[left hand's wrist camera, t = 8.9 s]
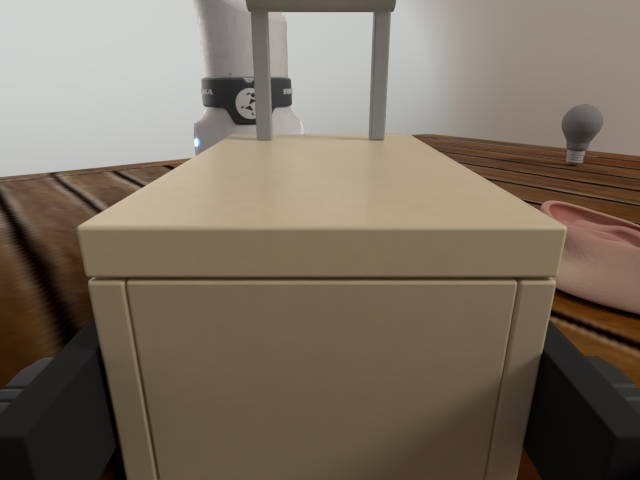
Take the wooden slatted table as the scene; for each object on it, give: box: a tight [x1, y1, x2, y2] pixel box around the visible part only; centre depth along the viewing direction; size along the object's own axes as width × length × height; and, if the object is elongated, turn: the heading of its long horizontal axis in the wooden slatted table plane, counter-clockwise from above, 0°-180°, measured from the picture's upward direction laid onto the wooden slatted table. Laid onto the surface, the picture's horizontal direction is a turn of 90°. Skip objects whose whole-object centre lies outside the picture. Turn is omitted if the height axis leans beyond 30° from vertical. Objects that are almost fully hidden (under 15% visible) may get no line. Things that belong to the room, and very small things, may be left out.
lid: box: [77, 0, 567, 277], centre depth 15 cm, size 16×10×8 cm, turn 0°
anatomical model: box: [540, 201, 640, 315], centre depth 32 cm, size 13×4×12 cm
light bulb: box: [562, 104, 603, 165], centre depth 74 cm, size 6×6×10 cm
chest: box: [88, 277, 556, 480], centre depth 18 cm, size 16×10×10 cm, turn 0°
